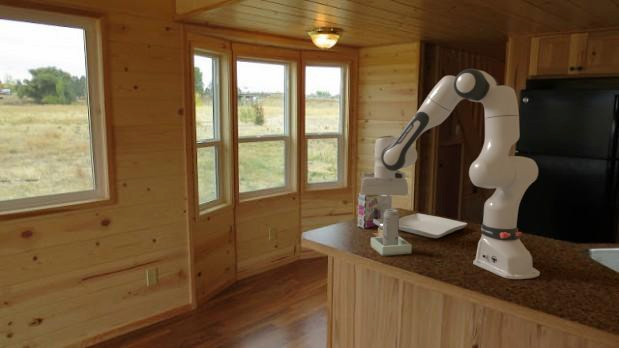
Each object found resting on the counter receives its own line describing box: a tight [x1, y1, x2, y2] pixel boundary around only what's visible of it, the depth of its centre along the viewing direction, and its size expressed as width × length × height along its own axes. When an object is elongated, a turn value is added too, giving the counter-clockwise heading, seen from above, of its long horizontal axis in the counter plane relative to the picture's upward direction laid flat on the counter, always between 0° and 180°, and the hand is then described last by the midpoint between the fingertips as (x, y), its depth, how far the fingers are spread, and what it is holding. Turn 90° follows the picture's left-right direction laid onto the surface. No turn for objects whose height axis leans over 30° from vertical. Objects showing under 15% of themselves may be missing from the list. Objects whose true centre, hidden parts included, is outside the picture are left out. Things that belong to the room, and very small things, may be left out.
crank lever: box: [372, 209, 383, 229], centre depth 182 cm, size 13×5×6 cm, turn 19°
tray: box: [370, 235, 412, 257], centre depth 169 cm, size 12×12×4 cm
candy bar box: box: [356, 192, 381, 230], centre depth 201 cm, size 11×5×16 cm, turn 130°
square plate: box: [399, 212, 468, 239], centre depth 197 cm, size 27×27×4 cm
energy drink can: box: [382, 208, 400, 246], centre depth 169 cm, size 6×6×15 cm
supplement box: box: [380, 195, 393, 221], centre depth 214 cm, size 7×7×13 cm
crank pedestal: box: [372, 227, 383, 237], centre depth 183 cm, size 14×6×6 cm, turn 14°
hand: (384, 204), depth 185 cm, fingers closed
